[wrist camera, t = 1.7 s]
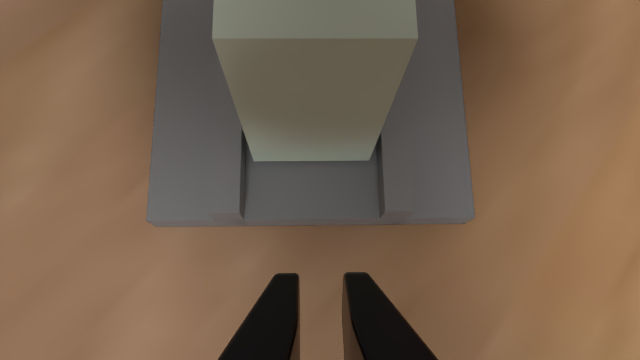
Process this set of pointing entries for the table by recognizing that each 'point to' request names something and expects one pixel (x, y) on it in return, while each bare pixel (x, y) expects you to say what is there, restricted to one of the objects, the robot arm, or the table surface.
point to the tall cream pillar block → (313, 72)
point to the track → (306, 176)
